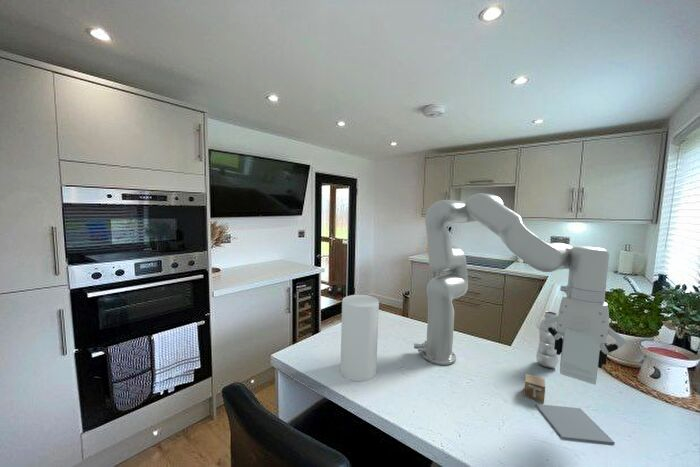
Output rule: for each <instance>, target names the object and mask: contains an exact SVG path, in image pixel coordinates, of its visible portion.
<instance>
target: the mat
mask: <svg viewBox="0 0 700 467" xmlns="http://www.w3.org/2000/svg"><path fill="white" fill-rule="evenodd" d="M535 407H536V408H537V409H538V410H539V411H540V413H541V414H542V415H543V417H544V418H545V419H546V421H547V422H548V423H549V424H550V426H552V428H553V429H554V430H555V432H556V433H557V435H559V437H560V438H561V439H562V440H571V441H572V440H573V441H579V442H580V441H581V442H590V443H591V442H592V443H598V444H609V445H615V441H614V440H613V439H612V438H611V437H610V436H609V435H608V434H607V433H606V432H605V431H604V430H603V429H602V428H601V427H600V426H599V425H597V424H596V423H597V422H595V421H593V419H592V418H591V417H590V416H588V414H587V413H586V412H585V411H584V410H582V408H580V407H573V406H572V407H571V406H559V405H552V404H551V405H550V404H539V403H536V404H535Z"/></svg>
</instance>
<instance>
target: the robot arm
mask: <svg viewBox="0 0 700 467" xmlns="http://www.w3.org/2000/svg"><path fill="white" fill-rule="evenodd" d="M472 222H473V223H474V222H479V223H480V224H481V225H483V226H484V227H485V228H487V229H488V230H490V231H491V232H492V233H494V234H495V235H496V236H498V237H499V238H500V240H501V242H502V243H504V245H505V246H506V248H508V250H509V251H510V252H512V254H514V255H515V256H516V257H517V258H519V259H520V260H521V261H523V262H524V263H525V264H527V265H528V266H529V267H531V268H533V269H534V270H536V271H539V272H542V273H553V272H555V271H561V270H568V278H567V285H564V286H563V285H560V290H559V291H561V292H563V293H565V294H564V295H563V296H562V298H561V300H560V304H559V308H558V314H557V316H555V317H552V318H548V319H545V320H544V321H543V322H544V324H545V326H546V327H547V328H548V331H549V332H550V333H551V334H552V336H553V337H554V339H555V346H554V349H555V350H557V353H556V354H557V356H561V352H562V343H563V335H564V332H565V328H570V329H574V330H577V331H582V332H585V333H589V334H592V335H593V336H594V337H595V338H596V343H599V344H600V353H599V362H598V369H602V368H603V366H607V360H608V359H607V358H608V354H609V353H612V352H614V351H617V350H618V349H619V348H621V347H623V346H624V345H626V343H627V340H626V339H625V338H624V337H622V336H621V335H620V334H619V333H618V332H616V331H615V330H614V329H612V328H611V327H610V311H609V304H608V302H606V301H605V300H606V288H607V279H608V272H609V271H608V270H609V263H610V262H609V260H610V253H609V251H608V250H607V249H605V248H603V247H598V246H597V247H595V246H586V245H585V246H578V245H572V244H567V243H563V242H550V243H549V242H548V243H547V242H546V241H544V240H543V239H542V238H540V237H538V236H537V235H535V233H533V232H531V231H530V230H529V229H528V228H527V227H526V226H525V224H523V219H522V216H521V215H519V214H518V213H517V212H515V211H513V210H512V209H510V208H509V207H508V206H505V205H504V202H503V200H502V199H501V197H500V196H498V195H496V194H491V193H483V192H480V193H474V194H473V195H471V196H470V197H468V199H466V200H465V199H464V200H454V199H441V200H438V201H436V202H434V203H432V204H431V205H430V206H429V208H428V209H427V211H426V214H425V217H424V225H425V230H426V240H427V252H428V253H427V256H428V257H427V258H428V266H429V267H430V269H431V271H434V272H436V273H444V274H441V275H437V276H434V277H433V278H431V279H430V280H429V281H428V283H427V285H426V295H427V305H428V306H427V307H428V308H427V326H426V340H424V342H422V343H417V342H416V343H415V342H414V343H413V349H415V350H416V349H417V352H421V356H422V357H423V359H425V360H426V361H427V362H430V363H432V364H435V365H440V366H447V365H448V366H449V365H452V364H455V363H456V360H457V355H456V354H455V353H454V351H453V343H454V328H455V327H454V326H455V325H454V324H455V309H454V305H453V300H454V299H458V298H460V297H462V296H464V295H465V294H466V293H468V292H467V291H468V289H469V278H468V265H467V257H466V254H465V253H464V251H463V249H461V248H460V247H459V246H455V245H452V237H451V232H450V229H449V228H448V224H465V223H472ZM554 322H557V331H558V332H557V331H556V329H555V328H554V327H553V326H552V324H551V323H554ZM609 336H610V337H611V338H612V339H614V340H615V341H614V342H612V343H610V344H607V341H608V338H609Z"/></svg>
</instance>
